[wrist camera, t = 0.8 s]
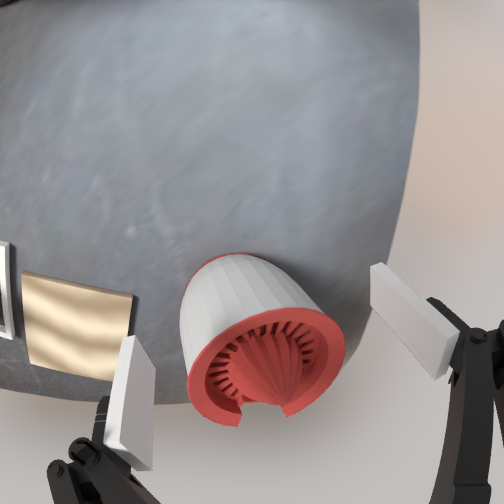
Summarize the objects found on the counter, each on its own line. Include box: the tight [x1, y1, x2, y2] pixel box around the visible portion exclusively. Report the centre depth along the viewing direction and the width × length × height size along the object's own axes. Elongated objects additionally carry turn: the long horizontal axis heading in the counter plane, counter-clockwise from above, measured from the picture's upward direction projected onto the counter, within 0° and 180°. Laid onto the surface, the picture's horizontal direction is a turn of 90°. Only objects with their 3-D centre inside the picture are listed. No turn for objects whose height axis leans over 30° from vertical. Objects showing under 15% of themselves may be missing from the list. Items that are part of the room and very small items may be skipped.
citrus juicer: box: [180, 253, 345, 427], centre depth 32 cm, size 16×17×20 cm
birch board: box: [21, 271, 133, 381], centre depth 35 cm, size 16×16×1 cm
